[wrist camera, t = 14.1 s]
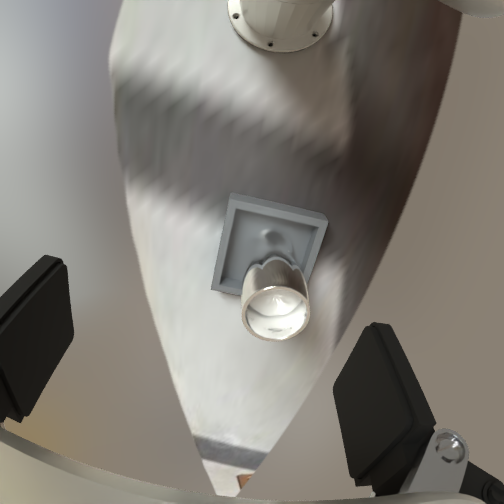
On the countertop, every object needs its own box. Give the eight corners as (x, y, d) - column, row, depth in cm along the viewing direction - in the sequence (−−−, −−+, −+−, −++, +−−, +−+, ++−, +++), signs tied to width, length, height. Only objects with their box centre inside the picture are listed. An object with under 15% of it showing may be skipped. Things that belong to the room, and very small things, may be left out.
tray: (231, 192, 41) (229, 198, 39) (324, 213, 42) (328, 221, 40) (213, 278, 47) (210, 289, 44) (296, 295, 48) (299, 306, 45)
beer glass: (269, 280, 46) (274, 353, 33) (233, 249, 44) (224, 315, 31) (306, 249, 44) (327, 315, 30) (270, 214, 42) (278, 270, 28)
